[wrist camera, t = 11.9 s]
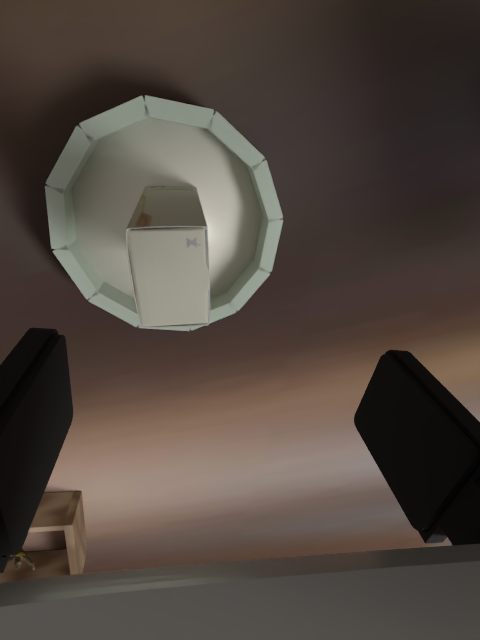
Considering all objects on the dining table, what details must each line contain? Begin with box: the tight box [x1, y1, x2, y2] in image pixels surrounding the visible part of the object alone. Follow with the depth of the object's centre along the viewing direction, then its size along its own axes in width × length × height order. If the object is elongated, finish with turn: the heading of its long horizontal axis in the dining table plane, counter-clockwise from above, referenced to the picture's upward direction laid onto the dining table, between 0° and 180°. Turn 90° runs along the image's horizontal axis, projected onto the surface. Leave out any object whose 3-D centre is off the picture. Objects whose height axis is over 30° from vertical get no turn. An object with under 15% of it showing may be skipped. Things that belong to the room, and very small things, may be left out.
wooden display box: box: [0, 491, 87, 583], centre depth 45 cm, size 15×15×4 cm
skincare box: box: [125, 186, 211, 328], centre depth 23 cm, size 6×4×12 cm
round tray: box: [45, 95, 283, 331], centre depth 28 cm, size 18×18×3 cm
